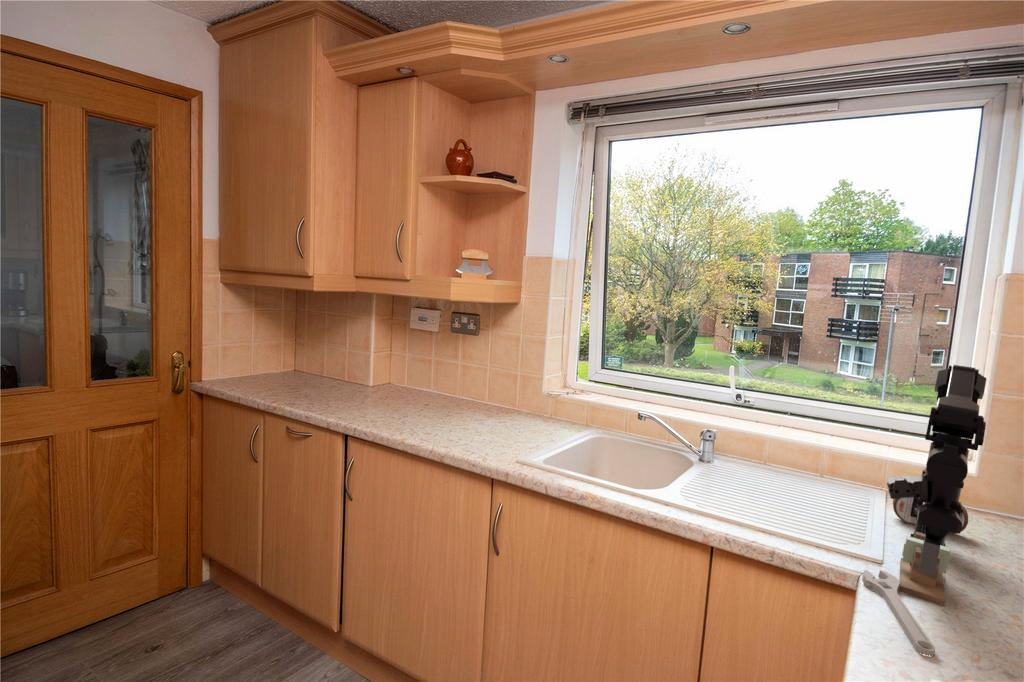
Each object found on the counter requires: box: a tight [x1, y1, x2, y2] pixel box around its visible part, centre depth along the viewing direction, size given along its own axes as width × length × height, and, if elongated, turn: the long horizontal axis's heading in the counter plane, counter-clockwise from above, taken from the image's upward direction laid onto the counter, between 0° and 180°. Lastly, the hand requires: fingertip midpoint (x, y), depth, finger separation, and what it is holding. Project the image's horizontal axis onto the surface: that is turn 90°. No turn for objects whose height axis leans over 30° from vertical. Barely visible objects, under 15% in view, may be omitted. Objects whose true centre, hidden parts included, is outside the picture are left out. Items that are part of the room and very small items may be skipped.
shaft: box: [918, 538, 940, 576], centre depth 111 cm, size 11×2×6 cm, turn 145°
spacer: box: [901, 535, 951, 574], centre depth 114 cm, size 2×7×5 cm, turn 55°
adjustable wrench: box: [861, 569, 936, 656], centre depth 103 cm, size 25×6×2 cm, turn 160°
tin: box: [892, 497, 969, 535], centre depth 140 cm, size 15×3×8 cm, turn 56°
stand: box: [898, 532, 947, 607], centre depth 113 cm, size 14×7×8 cm, turn 145°
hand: (929, 548), depth 110 cm, fingers closed
